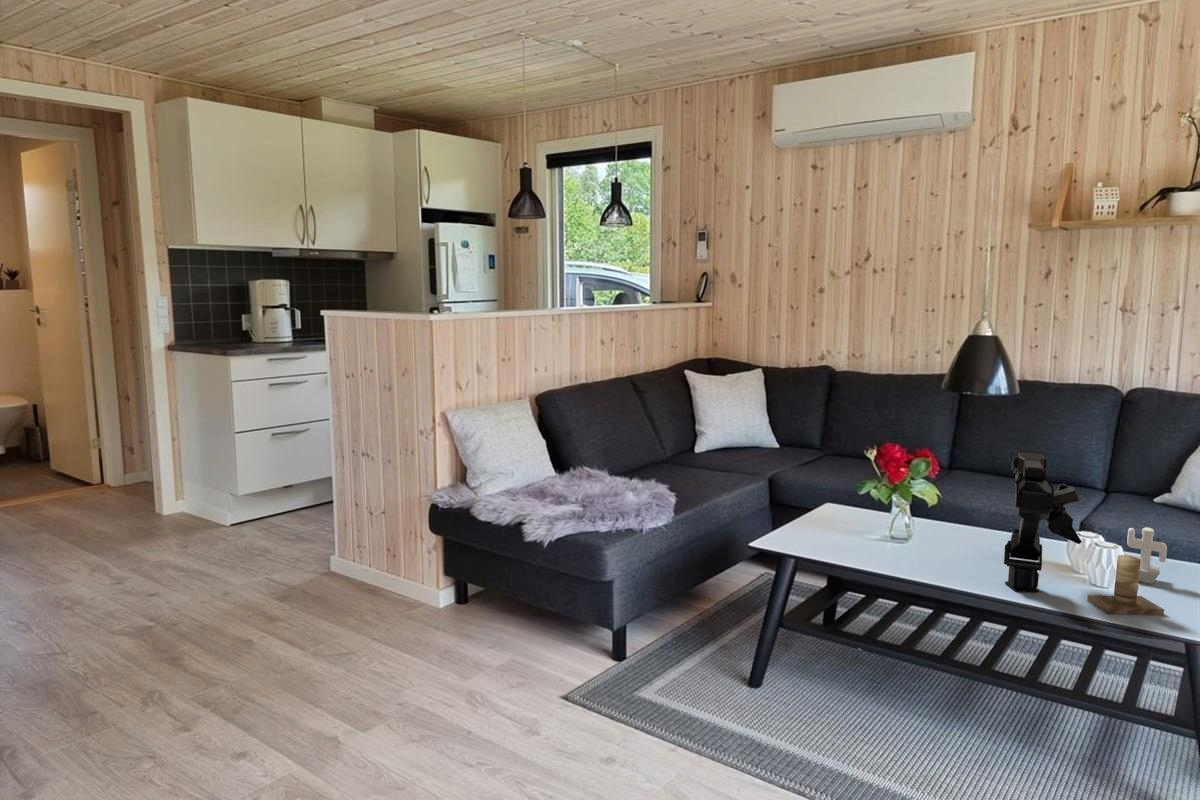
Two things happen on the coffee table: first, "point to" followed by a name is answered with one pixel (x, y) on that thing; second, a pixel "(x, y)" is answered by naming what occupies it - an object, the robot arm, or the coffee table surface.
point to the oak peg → (1127, 580)
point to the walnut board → (1125, 606)
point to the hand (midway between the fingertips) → (1077, 538)
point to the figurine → (1147, 553)
